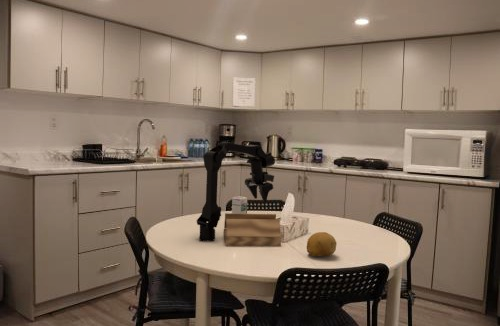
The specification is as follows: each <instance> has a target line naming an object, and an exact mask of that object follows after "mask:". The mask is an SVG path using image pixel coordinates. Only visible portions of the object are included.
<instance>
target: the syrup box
mask: <svg viewBox="0 0 500 326" xmlns="http://www.w3.org/2000/svg"><path fill="white" fill-rule="evenodd" d="M231 200H232V201H231V205H232V207H231V213H236V214H248V197H246V196H240V195H239V196H234V197H232V199H231Z"/></svg>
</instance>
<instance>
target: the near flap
mask: <svg viewBox="0 0 500 326" xmlns="http://www.w3.org/2000/svg"><path fill="white" fill-rule="evenodd" d="M226 225H227V228H226V229H227V237H281V238H282V236H281V235H282V234H281V221H280V219H277V218H276V219H226Z"/></svg>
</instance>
